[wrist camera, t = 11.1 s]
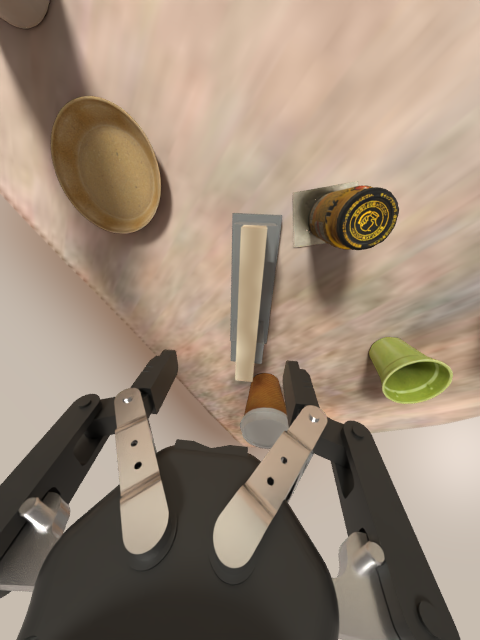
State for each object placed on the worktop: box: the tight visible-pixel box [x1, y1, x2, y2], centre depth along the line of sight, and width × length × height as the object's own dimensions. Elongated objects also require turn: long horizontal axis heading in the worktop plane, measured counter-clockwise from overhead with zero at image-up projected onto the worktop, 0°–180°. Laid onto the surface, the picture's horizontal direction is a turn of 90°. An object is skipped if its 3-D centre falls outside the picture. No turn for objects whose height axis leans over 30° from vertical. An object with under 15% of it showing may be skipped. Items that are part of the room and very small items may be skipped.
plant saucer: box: [51, 96, 161, 234], centre depth 28 cm, size 15×15×3 cm
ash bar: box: [235, 225, 267, 382], centre depth 25 cm, size 2×20×4 cm, turn 178°
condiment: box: [293, 181, 399, 250], centre depth 23 cm, size 7×8×12 cm
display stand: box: [230, 213, 282, 364], centre depth 31 cm, size 7×22×8 cm, turn 178°
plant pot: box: [369, 337, 453, 404], centre depth 34 cm, size 9×9×9 cm
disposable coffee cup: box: [240, 373, 289, 449], centre depth 40 cm, size 10×10×12 cm
